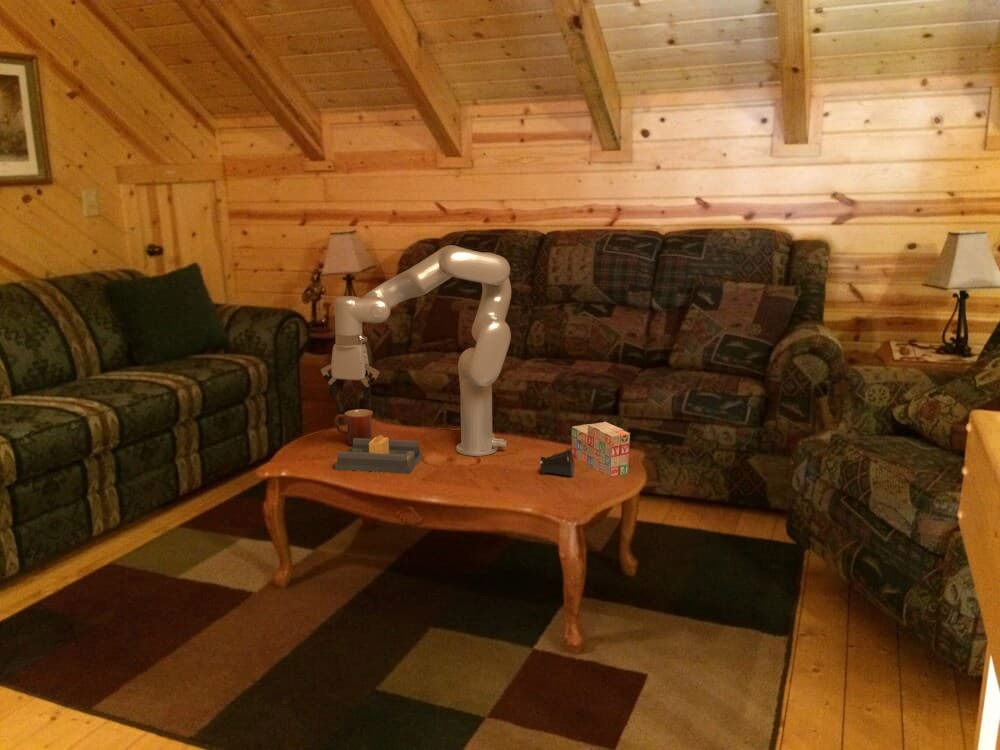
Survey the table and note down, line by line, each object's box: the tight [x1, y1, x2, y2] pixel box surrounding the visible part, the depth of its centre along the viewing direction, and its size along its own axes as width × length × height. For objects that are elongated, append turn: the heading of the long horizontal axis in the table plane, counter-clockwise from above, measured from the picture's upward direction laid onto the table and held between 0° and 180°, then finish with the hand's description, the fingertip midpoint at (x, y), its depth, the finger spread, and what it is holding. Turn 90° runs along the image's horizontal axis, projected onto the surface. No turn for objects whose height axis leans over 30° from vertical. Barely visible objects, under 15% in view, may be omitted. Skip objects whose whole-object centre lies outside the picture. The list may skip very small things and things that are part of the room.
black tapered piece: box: [539, 449, 575, 478], centre depth 243 cm, size 8×18×8 cm
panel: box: [334, 447, 423, 475], centre depth 247 cm, size 22×14×3 cm, turn 80°
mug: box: [334, 408, 374, 447], centre depth 265 cm, size 12×9×10 cm
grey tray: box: [337, 438, 420, 467], centre depth 247 cm, size 20×15×3 cm
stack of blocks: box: [571, 421, 631, 478], centre depth 244 cm, size 21×6×12 cm, turn 26°
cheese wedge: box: [369, 434, 390, 454], centre depth 247 cm, size 4×6×6 cm, turn 170°
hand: (350, 398), depth 245 cm, fingers open, 9 cm apart
